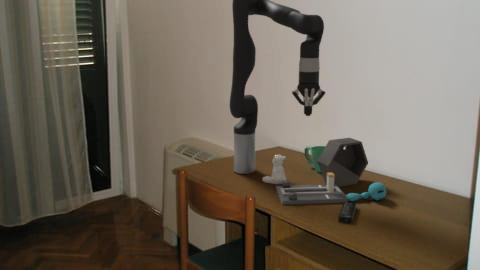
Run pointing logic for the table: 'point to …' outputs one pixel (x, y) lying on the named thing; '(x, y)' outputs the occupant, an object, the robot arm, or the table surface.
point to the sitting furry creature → (276, 171)
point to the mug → (314, 156)
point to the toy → (370, 192)
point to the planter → (343, 161)
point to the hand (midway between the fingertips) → (307, 115)
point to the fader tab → (330, 181)
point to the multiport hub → (347, 212)
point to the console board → (309, 194)
